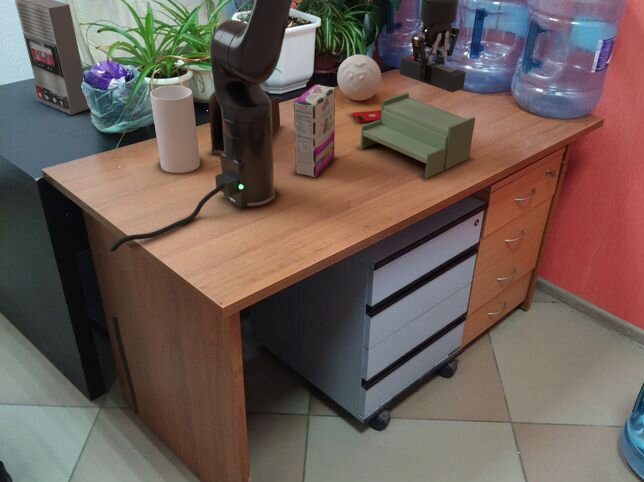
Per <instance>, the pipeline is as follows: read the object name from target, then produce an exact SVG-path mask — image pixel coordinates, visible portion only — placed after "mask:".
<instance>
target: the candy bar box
mask: <svg viewBox="0 0 644 482" xmlns="http://www.w3.org/2000/svg"><path fill="white" fill-rule="evenodd" d="M335 115H336V87H333V86H327V85H322V84H314V85H313V86H311V87H310V88H309V89H308V90H306V91H305V92H304V93H302V94H301V95H299V96H298V97H297V98H296V99H295V100H294V101H293V122H294V150H295V151H294V153H295V154H294V155H295V174H297V175H301V176H306V177H311V178H316V177H317V176H318V175H320V173H321V172H322V171H323V170H324V169H325V168H326V167H327V166H328V165H329V163H331V161H333V159H335V132H336V131H335V123H336V116H335Z"/></svg>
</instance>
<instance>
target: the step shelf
mask: <svg viewBox="0 0 644 482" xmlns="http://www.w3.org/2000/svg"><path fill="white" fill-rule="evenodd" d="M380 110H381V120H377V121H373V122H368V123H366V124H364V125H361V130H360V131H361V132H360V149H362V150H363V149H366V148H368V147H371V146H373V145H377V144H378V143H379V144H380V145H382V146H385V147H388V148H389V149H392V150H394V151H397V152H399V153H400V154H401V153H402V154H403V155H406V156H408V157H410V158H412V159H415V160H417V161H418V162H421V163H424V164H425V171H424V178H425V179H428V178H431V177H433V176H435V175H437V174H439V173H441V172H443V171H445V170H448V169H450V168H453V167H454V166H456V165H459V164H461V163H463V162H465V161H467V160H469V159H470V154H471V148H472V142H473V136H474V129H475V124H476V117H475V116H472V117H469V118H465V117H462V116H460V115H457V114H454V113H451V112H449V111H446V110H444V109H442V108H438V107H436V106H433V105H431V104H428V103H424V102H422V101H420V100H417V99H415V98H412V97H410V93H409V92H404V93H401V94H399V95H396V96H392V97H390V98H386V99H383V100H382V101H381V109H380Z"/></svg>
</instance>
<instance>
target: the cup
mask: <svg viewBox="0 0 644 482" xmlns="http://www.w3.org/2000/svg"><path fill="white" fill-rule="evenodd" d="M149 93H150V103H151V111H152V116H153V122H154V128H155V137H156V142H157V150H158V155H159V163H160V168H161V169H162V170H163V171H165V172H166V173H167V172H168V173H172V174H185V173H189V172H192V171H195V170H196V169H198V168H199V167H200V165H201V160H200V159H201V158H200V151H199V141H198V140H199V139H198V132H197V124H196V123H197V122H196V113H195V105H194V96H193V94H194V93H193V91H192V89H191V88H189V87H187V86H182V85H163V86H159V87H156V88H154V89H152V90H151V91H150V92H149Z"/></svg>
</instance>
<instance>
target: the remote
mask: <svg viewBox="0 0 644 482" xmlns="http://www.w3.org/2000/svg"><path fill="white" fill-rule="evenodd" d="M420 66H421V64H420V63H418V62H415V61H414V56H413V54H411V55H407V56H404V57H401V58H400V66H399V75H401V76H404V77H407V78H409V79H411V80H415V81H418V82H421V83H423V84H426V85H429V86H432V87H435V88H438V89H441V90H443V91H447V92H449V93H455V92H458V91H461V90H463V89H464V87H465V80H466V74H467V72H466V71H463V70H461V69H457V68H454V67H451V66H448V65H445V64H444V65H442V64H439V63H436V62H434V61H433V60H432V62H431V71H430V80H429V82H423V81H421V80H420V77H419V76H420Z"/></svg>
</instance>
